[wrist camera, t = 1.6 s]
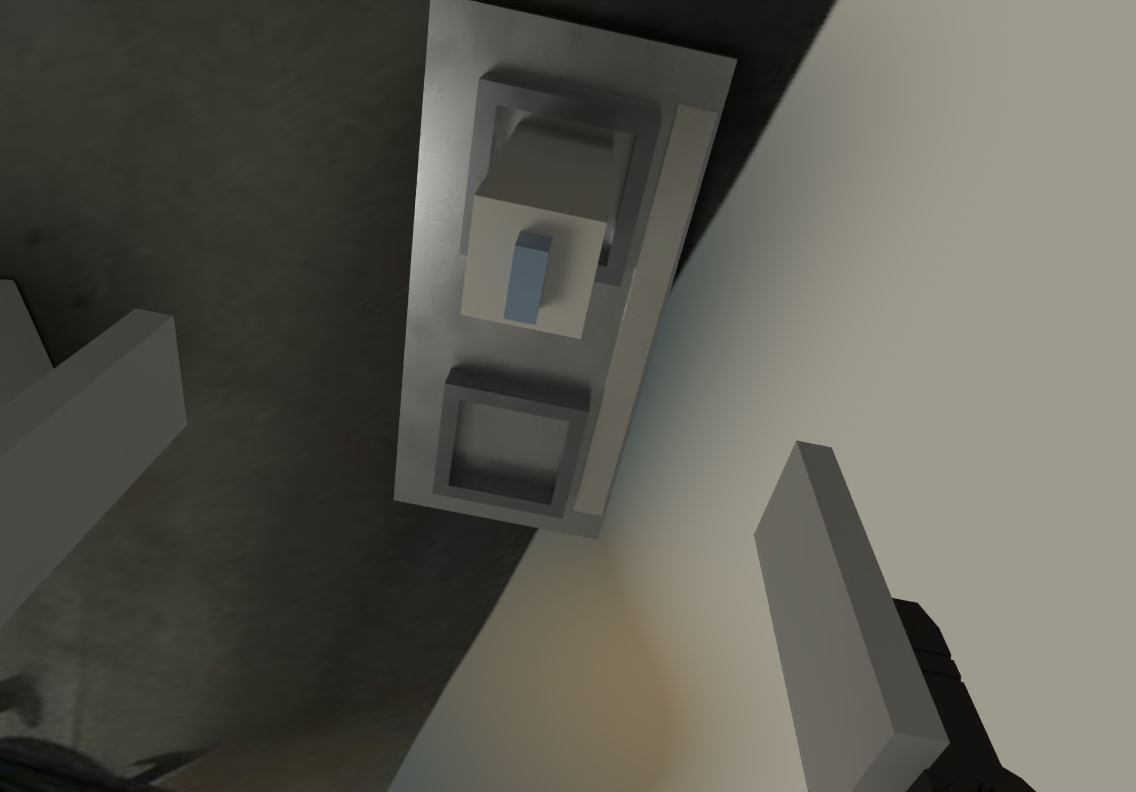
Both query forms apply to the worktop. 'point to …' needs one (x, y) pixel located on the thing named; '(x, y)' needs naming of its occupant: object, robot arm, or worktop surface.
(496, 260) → the plug
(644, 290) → the panel
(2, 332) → the milk carton
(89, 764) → the worktop surface
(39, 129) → the worktop surface
